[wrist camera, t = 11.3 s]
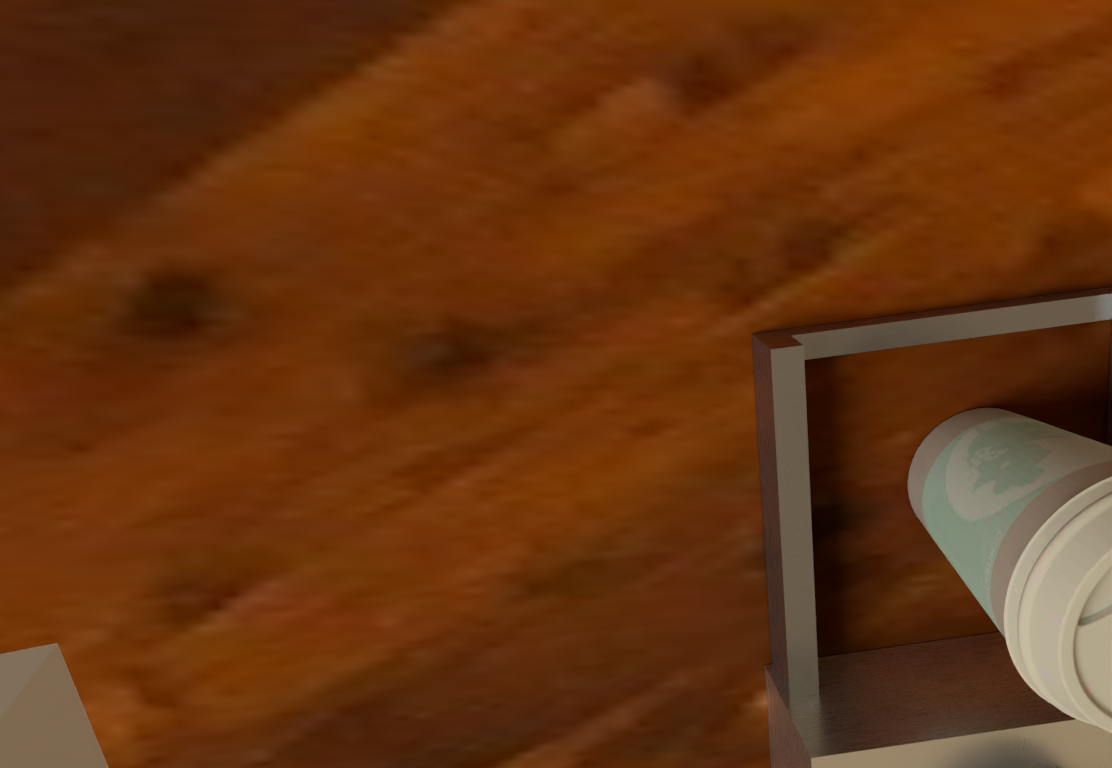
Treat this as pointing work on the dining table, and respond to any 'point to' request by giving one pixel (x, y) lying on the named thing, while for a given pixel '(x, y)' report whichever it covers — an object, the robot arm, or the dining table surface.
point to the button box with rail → (910, 670)
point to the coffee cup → (1029, 544)
